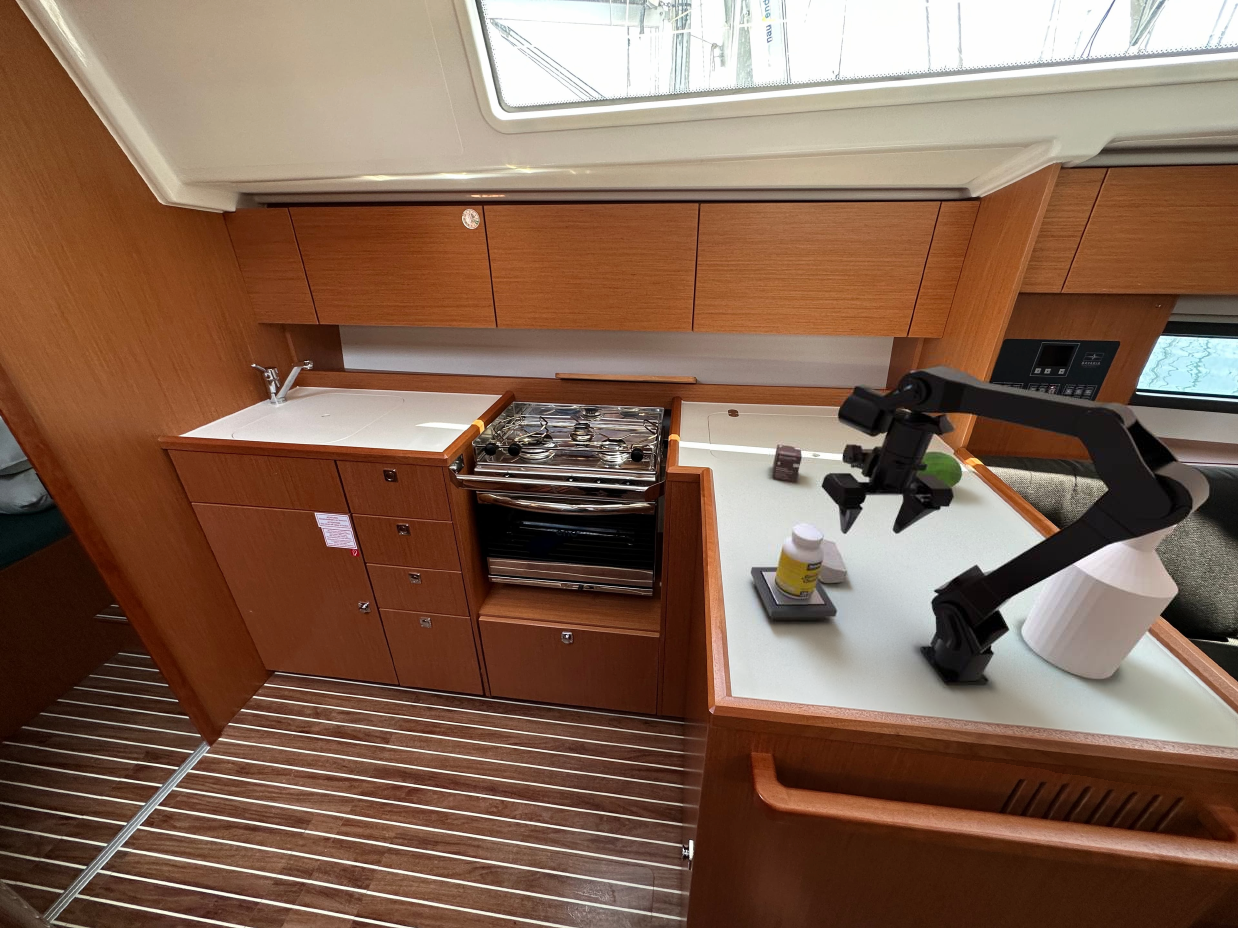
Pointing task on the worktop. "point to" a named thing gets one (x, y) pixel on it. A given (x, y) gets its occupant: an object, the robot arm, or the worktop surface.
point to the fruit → (942, 467)
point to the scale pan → (785, 600)
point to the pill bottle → (800, 562)
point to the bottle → (1101, 607)
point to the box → (786, 463)
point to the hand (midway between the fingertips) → (869, 532)
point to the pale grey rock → (832, 564)
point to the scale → (792, 611)
